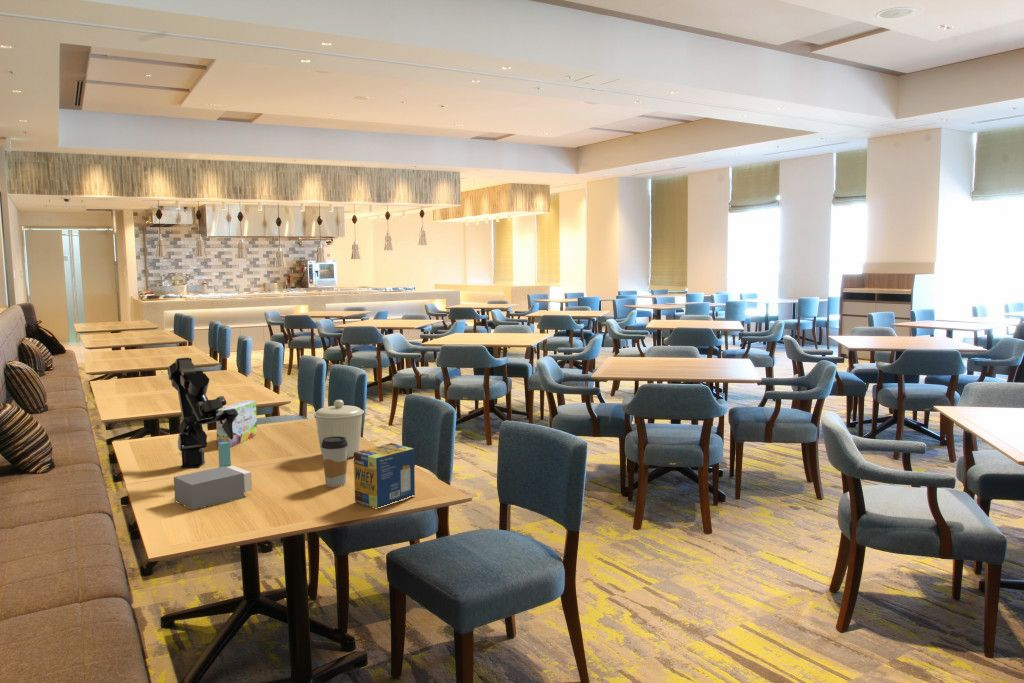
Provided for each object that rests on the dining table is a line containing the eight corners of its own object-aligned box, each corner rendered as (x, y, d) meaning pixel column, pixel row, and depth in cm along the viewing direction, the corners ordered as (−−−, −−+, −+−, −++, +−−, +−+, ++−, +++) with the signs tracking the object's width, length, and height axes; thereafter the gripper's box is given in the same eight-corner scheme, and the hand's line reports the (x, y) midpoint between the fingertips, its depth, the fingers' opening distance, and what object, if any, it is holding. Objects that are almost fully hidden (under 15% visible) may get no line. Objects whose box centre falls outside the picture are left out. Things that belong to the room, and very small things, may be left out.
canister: (311, 453, 289) (309, 397, 287) (358, 447, 297) (357, 393, 294) (320, 464, 273) (318, 406, 271) (370, 459, 280) (368, 401, 278)
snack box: (229, 448, 297) (227, 410, 295) (216, 448, 298) (214, 409, 296) (258, 436, 318) (256, 400, 316) (245, 435, 319) (244, 399, 317)
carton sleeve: (193, 510, 225) (191, 484, 224) (175, 501, 233) (173, 477, 232) (244, 497, 236) (243, 473, 235) (225, 489, 244) (224, 466, 243)
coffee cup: (353, 482, 252) (352, 437, 250) (340, 489, 244) (338, 442, 242) (331, 479, 255) (330, 435, 253) (317, 486, 247) (315, 440, 245)
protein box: (354, 502, 231) (352, 452, 229) (393, 490, 242) (392, 442, 241) (376, 510, 224) (375, 457, 222) (416, 497, 236) (415, 447, 234)
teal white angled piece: (197, 503, 226) (195, 460, 224) (174, 492, 236) (171, 451, 235) (251, 490, 238) (250, 449, 237) (227, 480, 249) (225, 441, 247)
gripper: (181, 393, 245) (201, 433, 240) (234, 384, 260) (254, 422, 255) (169, 413, 251) (189, 453, 246) (222, 404, 266) (241, 441, 261)
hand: (219, 441), depth 252 cm, fingers open, 9 cm apart
